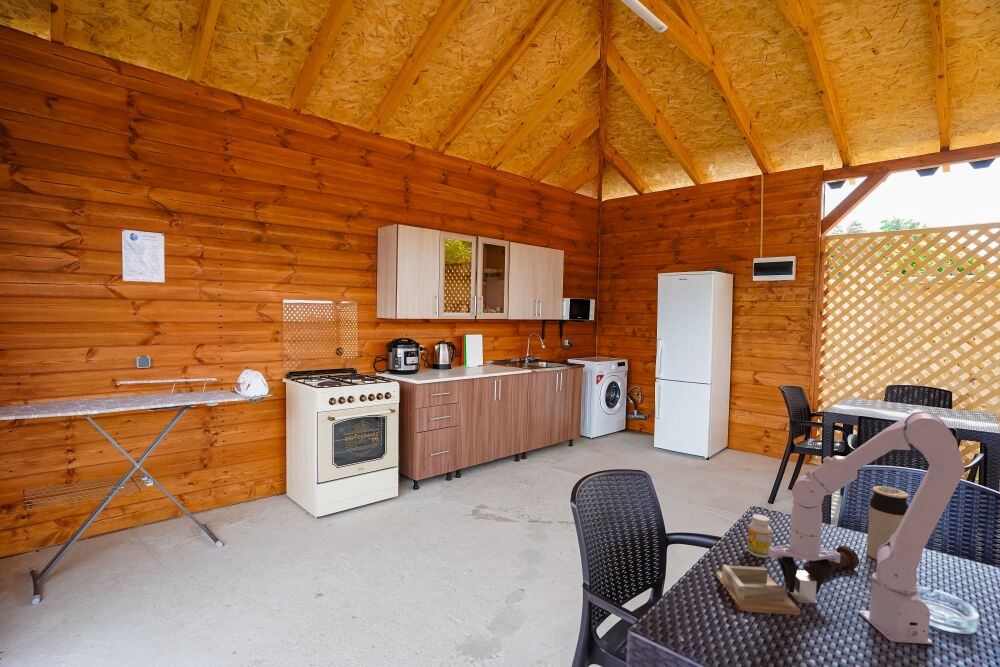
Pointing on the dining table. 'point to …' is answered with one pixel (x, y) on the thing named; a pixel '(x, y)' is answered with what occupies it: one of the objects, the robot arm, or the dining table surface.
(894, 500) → the travel mug
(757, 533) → the supplement bottle
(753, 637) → the dining table surface
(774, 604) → the keeper cradle
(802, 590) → the link block
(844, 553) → the bolt
